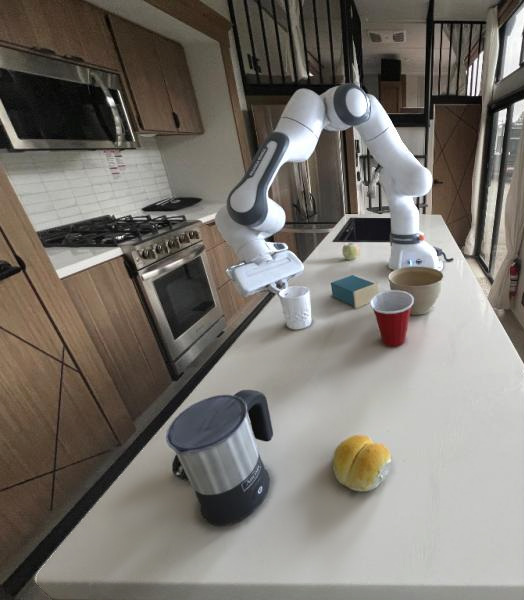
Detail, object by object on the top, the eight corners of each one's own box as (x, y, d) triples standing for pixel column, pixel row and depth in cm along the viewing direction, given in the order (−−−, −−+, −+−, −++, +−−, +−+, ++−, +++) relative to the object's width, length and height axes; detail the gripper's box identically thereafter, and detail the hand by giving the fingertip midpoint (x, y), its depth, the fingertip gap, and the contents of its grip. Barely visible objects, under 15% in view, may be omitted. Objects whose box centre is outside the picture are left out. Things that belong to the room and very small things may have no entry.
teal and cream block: (330, 282, 106) (354, 292, 98) (352, 274, 112) (377, 283, 104) (332, 297, 108) (356, 308, 100) (354, 288, 114) (378, 298, 106)
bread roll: (355, 436, 56) (353, 419, 54) (398, 460, 52) (398, 443, 50) (321, 473, 50) (317, 455, 48) (366, 504, 45) (364, 486, 44)
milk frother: (258, 525, 43) (231, 447, 37) (135, 536, 42) (85, 458, 36) (284, 438, 56) (267, 369, 50) (190, 445, 55) (160, 376, 49)
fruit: (358, 261, 140) (357, 243, 137) (342, 261, 140) (340, 243, 137) (361, 255, 147) (359, 238, 144) (344, 256, 147) (343, 238, 144)
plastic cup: (363, 343, 82) (359, 301, 77) (389, 326, 90) (388, 286, 85) (396, 358, 76) (395, 314, 71) (422, 338, 84) (422, 296, 79)
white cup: (318, 319, 94) (314, 288, 90) (303, 333, 88) (298, 299, 83) (296, 315, 97) (290, 284, 92) (279, 328, 90) (272, 295, 85)
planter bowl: (419, 292, 109) (419, 262, 105) (453, 310, 98) (455, 276, 93) (379, 306, 101) (377, 273, 96) (411, 327, 89) (410, 291, 84)
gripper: (224, 261, 81) (256, 305, 81) (289, 241, 97) (317, 278, 96) (219, 274, 86) (249, 316, 85) (282, 253, 101) (309, 289, 100)
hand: (286, 296), depth 91 cm, fingers closed, pressing on white cup
